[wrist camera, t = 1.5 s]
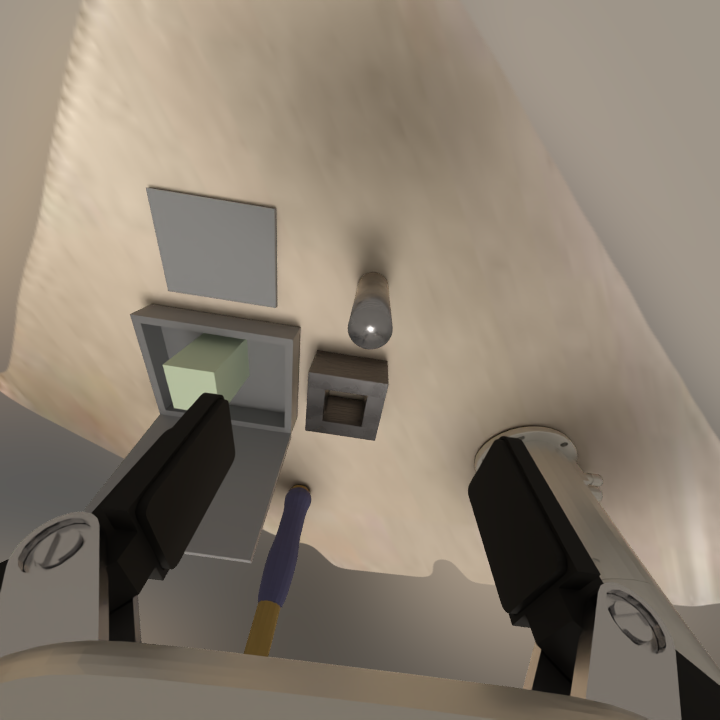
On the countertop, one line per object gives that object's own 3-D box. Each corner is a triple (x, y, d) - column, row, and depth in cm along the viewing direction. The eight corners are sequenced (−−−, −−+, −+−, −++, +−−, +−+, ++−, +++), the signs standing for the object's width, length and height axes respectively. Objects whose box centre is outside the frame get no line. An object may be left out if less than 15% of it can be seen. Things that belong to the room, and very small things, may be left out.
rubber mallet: (292, 458, 41) (141, 910, 15) (338, 476, 42) (272, 916, 16) (267, 501, 47) (128, 877, 21) (308, 515, 48) (225, 884, 22)
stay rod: (391, 274, 26) (396, 312, 18) (385, 304, 28) (387, 352, 19) (360, 269, 26) (350, 304, 18) (355, 299, 28) (345, 345, 19)
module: (246, 337, 30) (213, 372, 24) (249, 375, 33) (220, 415, 27) (205, 331, 30) (162, 364, 24) (211, 369, 33) (174, 408, 27)
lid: (250, 560, 24) (251, 563, 25) (291, 433, 34) (291, 437, 34) (64, 534, 24) (69, 537, 24) (160, 414, 34) (162, 418, 34)
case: (300, 327, 30) (293, 339, 27) (297, 416, 36) (291, 433, 34) (151, 304, 29) (130, 314, 27) (175, 398, 36) (160, 414, 34)
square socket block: (387, 361, 31) (388, 384, 27) (375, 414, 35) (374, 440, 32) (317, 350, 31) (308, 372, 27) (313, 404, 35) (305, 430, 31)
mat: (276, 208, 24) (274, 208, 24) (277, 306, 29) (275, 307, 28) (150, 187, 24) (145, 187, 24) (171, 289, 29) (168, 290, 28)
